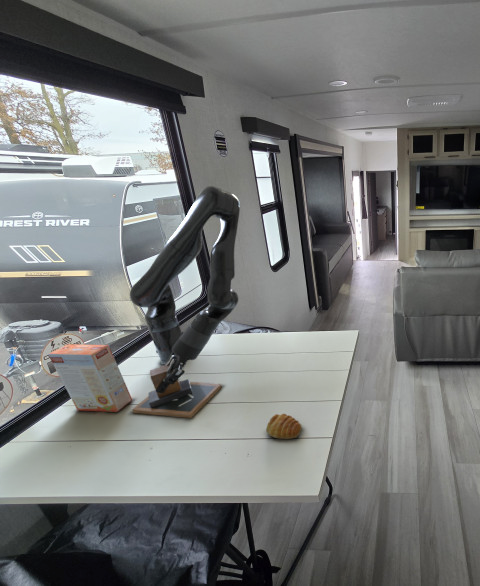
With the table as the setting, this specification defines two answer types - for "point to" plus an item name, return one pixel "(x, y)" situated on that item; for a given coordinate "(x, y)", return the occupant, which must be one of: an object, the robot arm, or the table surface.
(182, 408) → the board
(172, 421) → the table surface
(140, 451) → the table surface
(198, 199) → the robot arm
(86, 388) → the cracker box
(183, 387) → the eraser
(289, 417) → the pastry
